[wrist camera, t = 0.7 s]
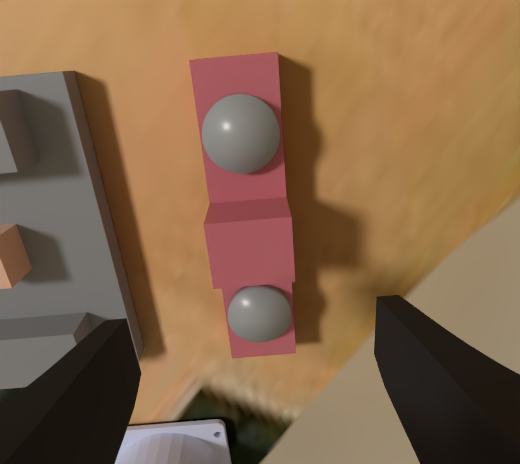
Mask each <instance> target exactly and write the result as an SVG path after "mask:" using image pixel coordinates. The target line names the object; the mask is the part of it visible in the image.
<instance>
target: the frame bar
mask: <svg viewBox="0 0 520 464" xmlns="http://www.w3.org/2000/svg"><path fill="white" fill-rule="evenodd" d="M189 62H190V69H191V76H192V83H193V90H194V97H195V104H196V111H197V118H198V124H199V131H200V138H201V145H202V152H203V159H204V166H205V173H206V180H207V187H208V194H209V201H210V205H209V208H208V212H207V215H206V218H205V222H204V229H205V236H206V242H207V249H208V255H209V262H210V268H211V275H212V281H213V288H214V289H220V288H222V291H223V298H224V305H225V312H226V319H227V326H228V333H229V340H230V347H231V354H232V358H242V357H254V356H267V355H279V354H292V353H296V346H295V330H294V313H293V296H292V282H295V267H294V249H293V231H292V216H291V212H290V208H289V204H288V201H287V197H286V180H285V164H284V147H283V130H282V114H281V97H280V81H279V64H278V52H271V53H260V54H249V55H239V56H228V57H217V58H206V59H195V60H189Z"/></svg>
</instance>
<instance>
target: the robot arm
mask: <svg viewBox="0 0 520 464" xmlns="http://www.w3.org/2000/svg"><path fill="white" fill-rule="evenodd" d="M374 354H375V358H376V361H377V364H378V368H379V371H380V374H381V377H382V379H383V382H384V386H385V388H386V390H387V393H388V395H389V397H390V399H391V401H392V404H393V406H394V408H395V410H396V412H397V414H398V417H399V419H400V421H401V423H402V425H403V427H404V429H405V432H406V434H407V436H408V438H409V440H410V442H411V445H412V447H413V449H414V451H415V453H416V455H417V458H418V460H419V462H420V464H520V375H519V374H517V373H515V372H514V371H512V370H510V369H508V368H506V367H504V366H503V365H501V364H499V363H498V362H496V361H494V360H493V359H491V358H489V357H488V356H486V355H484V354H483V353H481V352H480V351H478V350H476V349H475V348H473V347H471V346H470V345H468V344H467V343H465V342H464V341H462V340H461V339H459V338H458V337H456V336H455V335H453V334H452V333H450V332H449V331H447V330H446V329H445V328H443V327H442V326H440V325H439V324H438V323H436V322H435V321H433V320H432V319H431V318H429V317H428V316H427V315H425V314H424V313H422V312H421V311H420V310H418V309H417V308H416V307H414V306H413V305H411V304H410V303H409V302H407V301H406V300H405V299H403V298H402V297H400V296H399V295H393V296H382V297H377V303H376V325H375V347H374ZM140 377H141V371H140V367H139V363H138V359H137V356H136V352H135V348H134V344H133V341H132V337H131V333H130V329H129V326H128V322H127V318H124V319H112V320H105V321H104V322H102V323H101V324H100V325H99V326H97V327H96V328H95V329H94V330H93V331H92V332H90V333H89V334H88V335H87V336H86V337H85V338H84V339H82V340H81V341H80V342H79V343H78V344H77V345H76V346H75V347H73V348H72V349H71V350H70V351H69V352H68V353H67V354H65V355H64V356H63V357H62V358H61V359H60V360H58V361H57V362H56V363H55V364H54V365H53V366H52V367H50V368H49V369H48V370H47V371H45V372H44V373H43V374H42V375H41V376H39V377H38V378H37V379H36V380H34V381H33V382H32V383H31V384H29V385H28V386H27V387H26V388H24V389H23V390H22V391H21V392H19V393H18V394H17V395H16V396H14V397H13V398H12V399H10V400H9V401H8V402H6V403H5V404H4V405H2V406H1V407H0V464H232V463H231V457H230V451H229V445H228V439H227V433H226V427H225V423H224V422H223V421H222V420H220V419H212V420H200V421H188V422H176V423H164V424H152V425H140V426H128V424H129V421H130V418H131V415H132V412H133V409H134V406H135V401H136V397H137V392H138V387H139V382H140Z"/></svg>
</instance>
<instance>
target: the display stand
mask: <svg viewBox="0 0 520 464" xmlns="http://www.w3.org/2000/svg"><path fill="white" fill-rule="evenodd" d="M124 318H127V322H128V326H129V329H130V333H131V337H132V341H133V344H134V348H135V352H136V356H137V359H138V361H139V360H140V357H141V354H142V352H143V349H144V344H143V340H142V336H141V332H140V328H139V324H138V320H137V316H136V312H135V308H134V304H133V301H132V297H131V293H130V289H129V285H128V281H127V277H126V273H125V269H124V265H123V261H122V257H121V253H120V249H119V245H118V241H117V237H116V233H115V229H114V225H113V221H112V217H111V213H110V209H109V205H108V202H107V198H106V194H105V190H104V186H103V182H102V178H101V174H100V170H99V166H98V162H97V158H96V154H95V150H94V146H93V142H92V138H91V134H90V130H89V126H88V122H87V118H86V114H85V110H84V107H83V103H82V99H81V95H80V91H79V87H78V83H77V79H76V75H75V71H62V72H51V73H40V74H29V75H18V76H7V77H0V389H8V388H20V387H27V386H28V385H29V384H31V383H32V382H33V381H34V380H36V379H37V378H38V377H39V376H41V375H42V374H43V373H44V372H45V371H47V370H48V369H49V368H50V367H52V366H53V365H54V364H55V363H56V362H57V361H58V360H60V359H61V358H62V357H63V356H64V355H65V354H67V353H68V352H69V351H70V350H71V349H72V348H73V347H75V346H76V345H77V344H78V343H79V342H80V341H81V340H82V339H84V338H85V337H86V336H87V335H88V334H89V333H90V332H92V331H93V330H94V329H95V328H96V327H97V326H99V325H100V324H101V323H102V322H104V321H105V320H112V319H124Z"/></svg>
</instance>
